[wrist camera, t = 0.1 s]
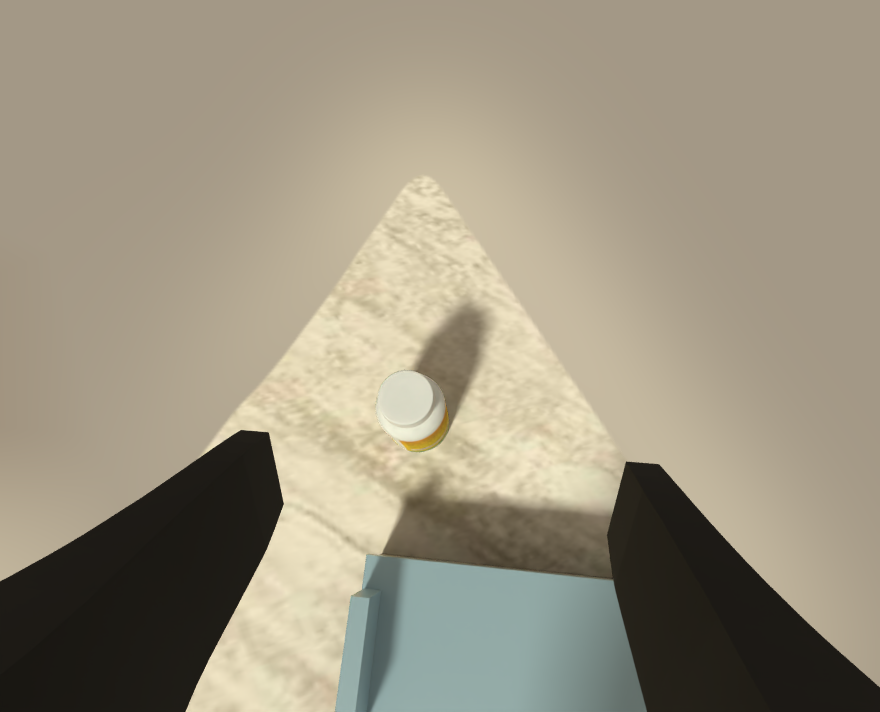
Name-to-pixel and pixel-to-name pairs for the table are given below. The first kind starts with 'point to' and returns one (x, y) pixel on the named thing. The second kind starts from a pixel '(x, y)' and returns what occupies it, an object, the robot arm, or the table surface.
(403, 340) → the table surface
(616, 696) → the lid
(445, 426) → the supplement bottle
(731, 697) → the robot arm
